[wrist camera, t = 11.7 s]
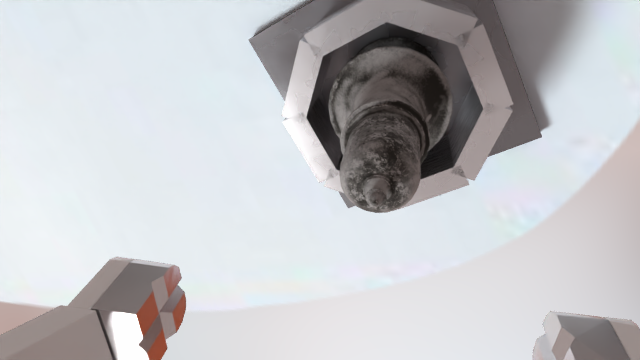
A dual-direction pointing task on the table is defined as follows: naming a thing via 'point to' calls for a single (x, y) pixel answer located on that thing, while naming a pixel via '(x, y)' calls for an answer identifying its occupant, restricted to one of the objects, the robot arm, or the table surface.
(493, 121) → the duct collar
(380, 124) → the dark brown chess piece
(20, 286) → the table surface
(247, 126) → the table surface
